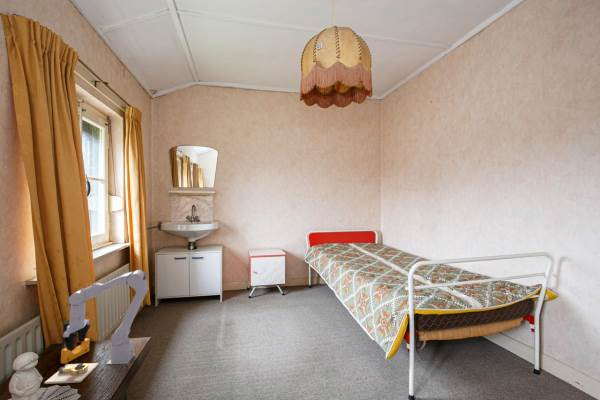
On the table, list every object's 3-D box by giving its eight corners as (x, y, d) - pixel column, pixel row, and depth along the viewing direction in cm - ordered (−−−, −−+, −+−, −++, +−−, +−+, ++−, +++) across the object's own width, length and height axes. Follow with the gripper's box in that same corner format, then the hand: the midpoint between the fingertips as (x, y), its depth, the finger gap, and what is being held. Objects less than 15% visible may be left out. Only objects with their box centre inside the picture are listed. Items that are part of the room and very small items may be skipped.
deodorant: (60, 354, 136) (62, 324, 136) (63, 349, 141) (65, 320, 141) (75, 351, 139) (76, 322, 139) (77, 346, 144) (79, 318, 144)
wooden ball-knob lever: (90, 366, 125) (90, 363, 125) (82, 374, 119) (82, 370, 119) (64, 367, 123) (64, 364, 123) (54, 375, 117) (54, 371, 117)
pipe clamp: (82, 350, 141) (83, 337, 141) (89, 351, 140) (89, 338, 140) (57, 362, 129) (58, 349, 129) (64, 364, 128) (65, 350, 128)
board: (98, 364, 128) (99, 356, 129) (80, 382, 116) (81, 373, 116) (66, 366, 126) (67, 357, 127) (44, 383, 114) (45, 374, 114)
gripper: (78, 310, 134) (77, 338, 134) (56, 323, 120) (54, 353, 119) (94, 310, 135) (92, 337, 135) (73, 322, 121) (72, 353, 120)
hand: (76, 345), depth 127 cm, fingers open, 7 cm apart
